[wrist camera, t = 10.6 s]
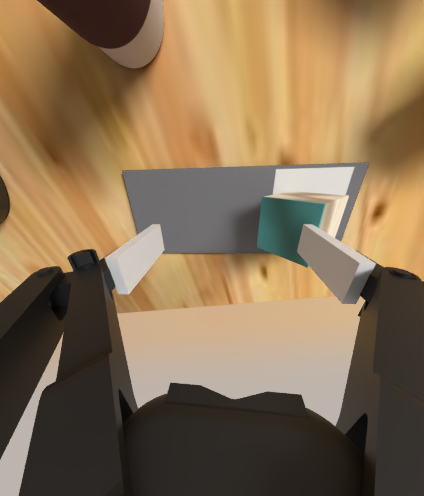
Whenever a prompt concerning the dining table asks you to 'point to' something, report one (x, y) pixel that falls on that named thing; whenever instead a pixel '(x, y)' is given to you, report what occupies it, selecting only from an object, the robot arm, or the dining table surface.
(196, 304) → the dining table surface
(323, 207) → the birch cube
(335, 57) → the dining table surface
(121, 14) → the coffee cup
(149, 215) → the charcoal mat
